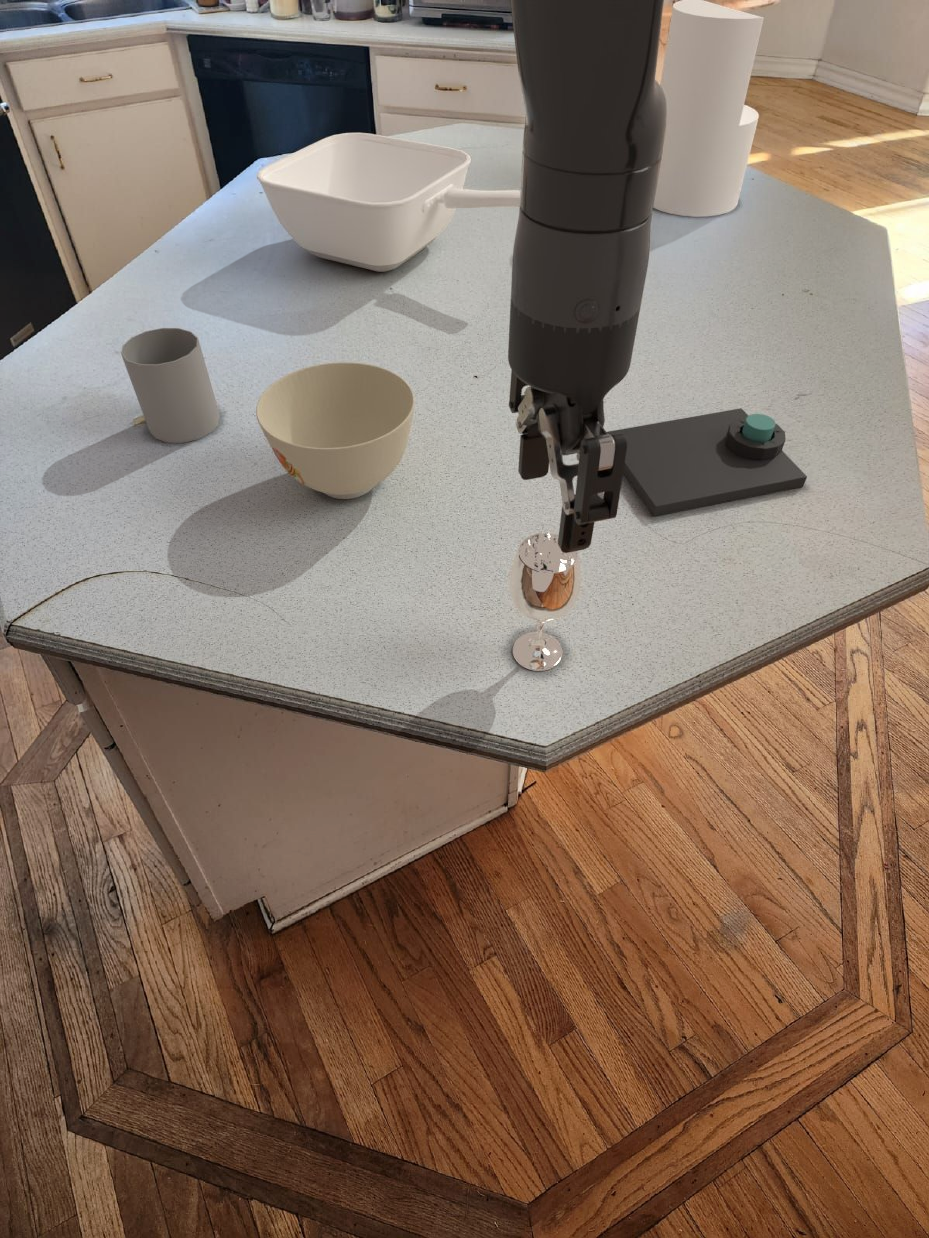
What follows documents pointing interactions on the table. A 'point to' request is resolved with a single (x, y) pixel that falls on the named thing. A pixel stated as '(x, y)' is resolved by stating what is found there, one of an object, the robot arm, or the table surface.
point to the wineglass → (542, 595)
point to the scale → (704, 462)
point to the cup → (171, 384)
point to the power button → (758, 428)
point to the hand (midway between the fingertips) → (552, 510)
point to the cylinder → (706, 108)
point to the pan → (371, 197)
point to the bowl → (338, 425)
